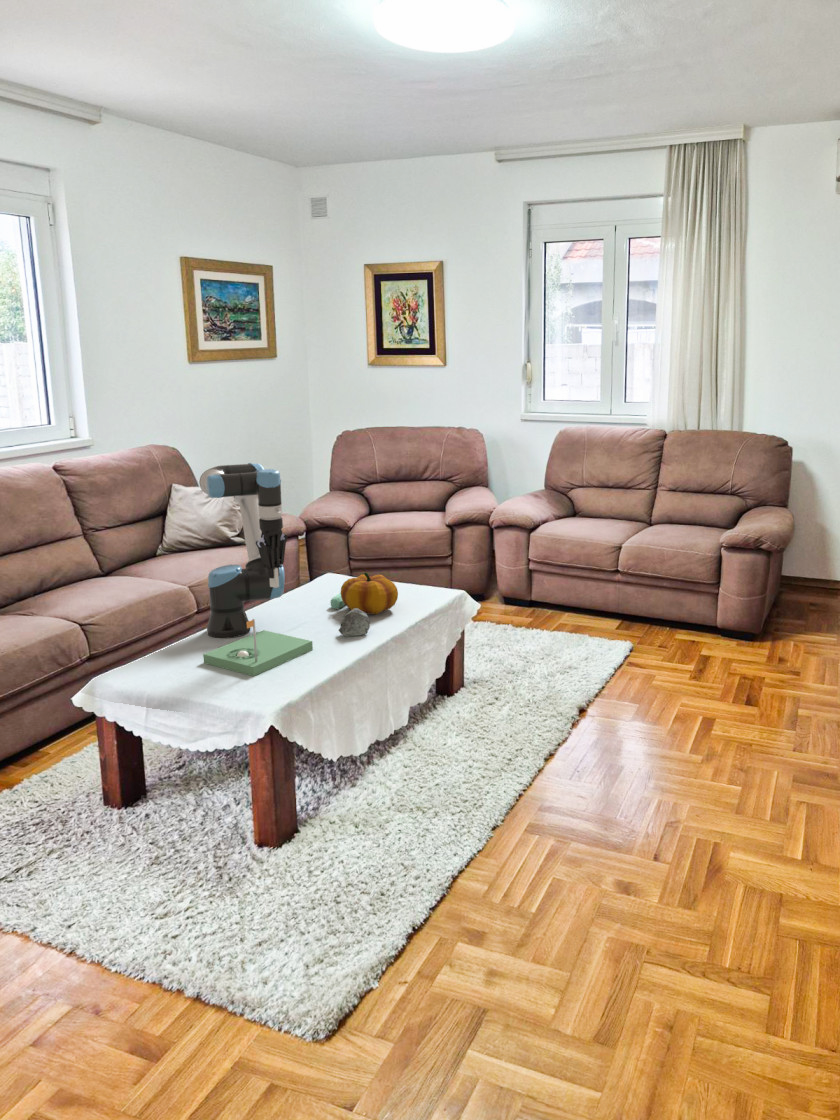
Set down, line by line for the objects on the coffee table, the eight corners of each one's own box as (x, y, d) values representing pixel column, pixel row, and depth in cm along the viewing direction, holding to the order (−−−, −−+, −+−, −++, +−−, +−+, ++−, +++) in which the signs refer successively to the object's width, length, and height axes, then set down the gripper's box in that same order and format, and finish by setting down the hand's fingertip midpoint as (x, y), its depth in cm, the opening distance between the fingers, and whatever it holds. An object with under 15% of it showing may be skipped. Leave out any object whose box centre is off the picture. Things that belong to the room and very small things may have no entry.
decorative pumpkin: (354, 622, 333) (352, 582, 330) (335, 606, 353) (333, 568, 349) (405, 614, 341) (404, 575, 337) (383, 599, 361) (382, 562, 357)
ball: (246, 659, 297) (241, 667, 294) (237, 651, 296) (232, 659, 293) (253, 654, 295) (248, 662, 292) (244, 646, 294) (239, 654, 291)
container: (337, 595, 347) (366, 577, 369) (325, 599, 349) (354, 581, 372) (343, 609, 347) (371, 590, 370) (331, 613, 350) (359, 594, 372)
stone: (353, 610, 314) (360, 601, 323) (332, 626, 317) (340, 617, 326) (371, 631, 315) (378, 621, 324) (351, 647, 318) (358, 637, 327)
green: (264, 638, 317) (261, 591, 313) (312, 649, 305) (310, 600, 301) (203, 662, 295) (199, 612, 291) (253, 676, 283) (250, 623, 279)
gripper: (264, 522, 291) (268, 593, 297) (292, 515, 301) (296, 583, 308) (248, 519, 295) (252, 589, 301) (276, 512, 305) (279, 580, 312)
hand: (274, 586), depth 304 cm, fingers closed
